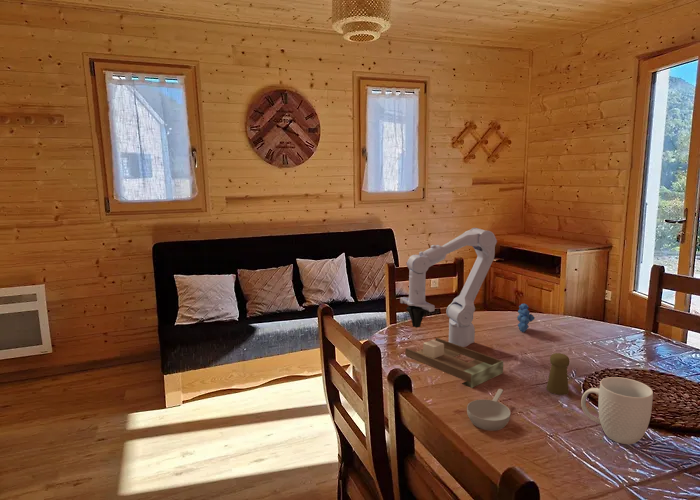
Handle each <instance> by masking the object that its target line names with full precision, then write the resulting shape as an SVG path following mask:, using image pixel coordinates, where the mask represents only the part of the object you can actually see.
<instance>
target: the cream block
mask: <svg viewBox="0 0 700 500" xmlns="http://www.w3.org/2000/svg"><path fill="white" fill-rule="evenodd" d="M422 344H423V345H422V349H423V354H424V355H427V356H429V357H432V358H437V357H439V356H442V355H444V343H441V342H438V341H436V339H431V340H429V341H424V342H423V343H422Z"/></svg>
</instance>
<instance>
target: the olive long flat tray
mask: <svg viewBox="0 0 700 500" xmlns="http://www.w3.org/2000/svg"><path fill="white" fill-rule="evenodd" d="M435 341H438V342H441V343H444V355H442V356H439V357H437V358H432V357H429V356H427V355H424V354H423V348H422V349H419V350H417V351H414V350H412V349H409V348H405V357H408V358H411V359H412V360H415V361H417V362H420V363H422V364H424V365H426V366H430V367H433V368H434V369H437V370H439V371H441V372H444V373H446V374H449V375H450V376H454V377H455V378H458V379H461V380H463V381H464V382H462V383H461V384H462V385H464V386H466V387H469V388H471V389H472V388H475V387H477V386H479V385H481V384H483V383H485V382H487V381H489V380H491V379H494V378H495V377H498V376H500V375H502V374H503V373H504V361H503V360H501V359H499V358H495V357H493V356H490V355H487V354H485V353H481V352H478V351H476V350H472V349H469V348H466V347H461V346H459V345H456V344H453V343H450V342H449V341H447V340H444V339H442V338H439V337H435ZM460 355H463V356H465V357H468V358H470V359H473V360H472V361H471V360H470V361H465V360H463V359H460V358H458V356H460Z"/></svg>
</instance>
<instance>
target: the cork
mask: <svg viewBox="0 0 700 500" xmlns="http://www.w3.org/2000/svg"><path fill="white" fill-rule="evenodd" d="M549 362H550V364H551V365H550V371H549V374H548V380H547V383H546V384H547V385H546V391H548V392H549V393H551V394H553V395H558V396H564V395H565V396H566V395H568V394H569V393H570V392H569V391H570V389H569V378H568V367H569V365H570V357H569V356H568V355H567V354H564V353H561V352H555V353H552V354H551V355H550V357H549Z"/></svg>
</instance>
